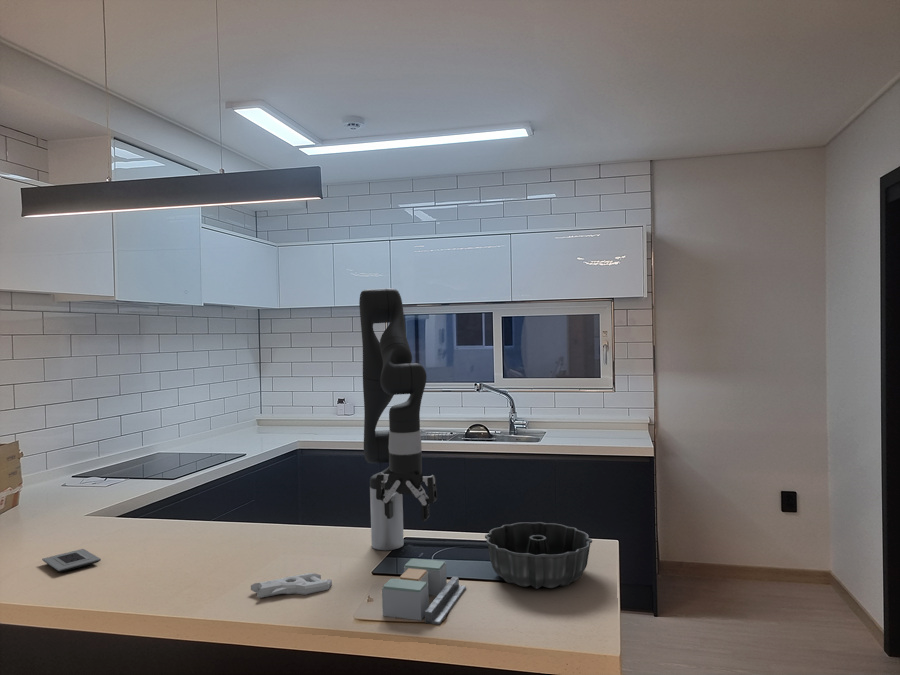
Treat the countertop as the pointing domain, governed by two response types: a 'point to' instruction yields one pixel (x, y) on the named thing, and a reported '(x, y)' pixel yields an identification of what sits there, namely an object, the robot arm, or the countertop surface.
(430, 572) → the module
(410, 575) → the block
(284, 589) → the grey flat plastic piece
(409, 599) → the block
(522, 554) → the bundt pan
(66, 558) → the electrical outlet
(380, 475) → the robot arm
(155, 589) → the countertop surface
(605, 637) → the countertop surface
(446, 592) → the rail
